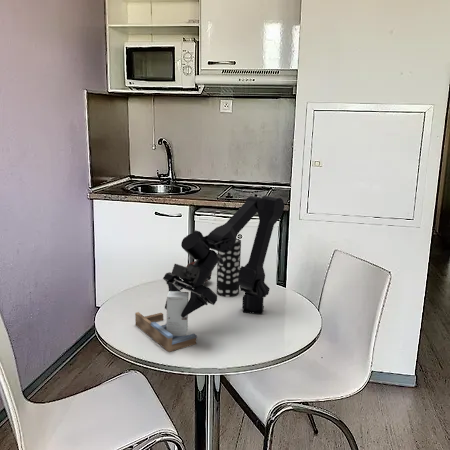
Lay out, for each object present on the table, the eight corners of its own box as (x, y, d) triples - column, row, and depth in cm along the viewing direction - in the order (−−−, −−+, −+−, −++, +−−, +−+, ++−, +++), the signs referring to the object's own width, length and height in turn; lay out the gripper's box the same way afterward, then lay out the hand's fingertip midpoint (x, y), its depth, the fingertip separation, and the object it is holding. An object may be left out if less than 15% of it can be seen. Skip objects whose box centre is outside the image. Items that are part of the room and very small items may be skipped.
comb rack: (134, 324, 152) (134, 310, 151) (161, 318, 157) (161, 304, 156) (168, 352, 136) (168, 336, 135) (196, 343, 141) (197, 328, 140)
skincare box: (165, 336, 140) (165, 296, 138) (167, 329, 145) (167, 290, 142) (187, 336, 141) (187, 297, 138) (188, 329, 145) (188, 291, 142)
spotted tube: (239, 297, 177) (241, 244, 173) (216, 296, 177) (217, 243, 173) (238, 289, 185) (240, 238, 181) (216, 288, 186) (218, 237, 181)
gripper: (167, 246, 146) (137, 290, 141) (210, 260, 134) (179, 309, 129) (187, 265, 154) (159, 308, 149) (230, 281, 141) (201, 328, 136)
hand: (173, 312), depth 140 cm, fingers closed on skincare box, 7 cm apart
